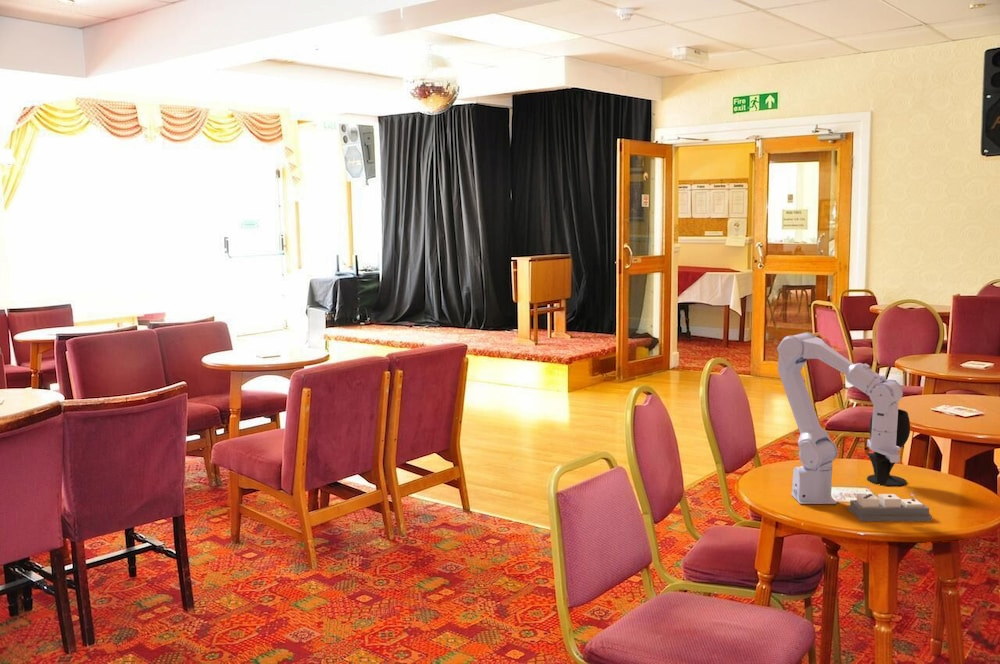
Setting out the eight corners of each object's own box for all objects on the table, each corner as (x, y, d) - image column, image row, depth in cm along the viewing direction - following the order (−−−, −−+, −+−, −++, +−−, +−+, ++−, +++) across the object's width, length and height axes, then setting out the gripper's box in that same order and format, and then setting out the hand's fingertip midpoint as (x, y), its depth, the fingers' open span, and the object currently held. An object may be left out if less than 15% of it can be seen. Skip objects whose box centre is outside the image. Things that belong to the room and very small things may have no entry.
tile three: (862, 508, 223) (863, 498, 222) (856, 503, 226) (856, 493, 226) (878, 508, 222) (879, 498, 222) (872, 503, 226) (872, 493, 226)
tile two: (906, 513, 223) (906, 503, 222) (899, 508, 227) (899, 498, 226) (922, 513, 223) (923, 503, 222) (915, 508, 226) (915, 498, 226)
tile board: (861, 521, 220) (862, 510, 220) (847, 509, 229) (848, 498, 229) (931, 521, 220) (931, 510, 220) (914, 508, 229) (915, 498, 229)
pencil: (909, 495, 240) (929, 519, 222) (911, 492, 240) (931, 516, 222) (912, 496, 240) (932, 521, 222) (914, 493, 240) (934, 518, 221)
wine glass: (900, 476, 257) (904, 407, 254) (911, 487, 246) (916, 416, 244) (862, 474, 258) (866, 406, 255) (872, 486, 248) (875, 415, 245)
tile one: (884, 508, 222) (885, 498, 222) (877, 503, 226) (878, 493, 226) (900, 508, 222) (901, 498, 222) (893, 503, 226) (894, 493, 226)
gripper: (913, 437, 215) (910, 492, 217) (887, 422, 229) (884, 473, 231) (884, 437, 215) (880, 492, 217) (860, 422, 229) (857, 474, 231)
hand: (881, 482), depth 224 cm, fingers closed
